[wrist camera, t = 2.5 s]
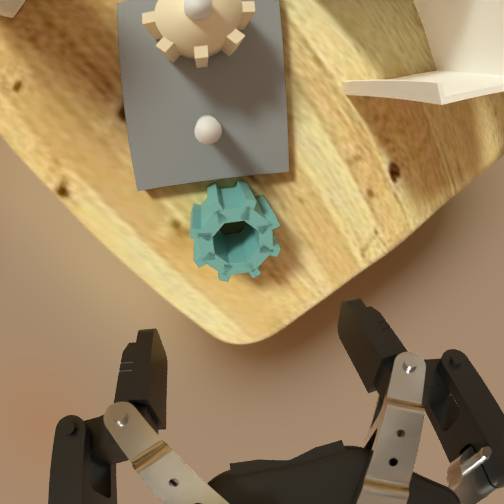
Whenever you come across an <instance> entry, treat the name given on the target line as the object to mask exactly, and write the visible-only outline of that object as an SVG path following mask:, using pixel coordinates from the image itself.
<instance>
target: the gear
mask: <svg viewBox="0 0 504 504" xmlns="http://www.w3.org/2000/svg"><path fill="white" fill-rule="evenodd" d="M207 192H208V198H207V199H206V200H205V201H204V202H203V204H202V205H197V204H193V208H192V212H191V223H190V238H194V261H195V263H196V264H197V266H198V267H199V268H200V267H202V266H204V265H205V264H208V265H209V266H211V267H212V268H214V269H216V270H217V271H218V277H219V280H222V281H227V282H229V279H230V276H231V275H233V274H241V273H248V272H249V274H250V276H251V277H252V278H254V277H256V276H258V275H260V274H261V272H260V269H259V266H260V265H261V264H262V263H263V262H264V260H265V259H266V258H267V257H268V256H269V255H270V256H275V257H278V254H279V252H280V250H281V247H280V245H279V243H278V241H277V239H276V237H275V235H274V233H273V231H272V230H273V229H275V228H277V227H279V226H280V224H279V222H278V220H277V218H276V216H275V214H274V212H273V211H272V209H271V207H270V206H269V204H268V203H267V201H266V199H265V198H264V196H263V195H262V196H260V197H258V198H255V197H254V195H253V193H252V192H251V190H250V188H249V186H248V184H247V182H245V181H241V180H237V183H236V186H235V187H230V188H221V189H219V188H218V186H217V184H216V182H215V183H213V184H211V185H209V186H208V187H207ZM238 221H245V222H247V223H248V224H247V225H246V226H245V227H244V229H243V230H242V231H241V232H240V233H235V234H227V235H224V234H222V233H221V232H220V231H218V230H219V229H220V228H221V227H222V226H223V224H224V223H230V222H238Z"/></svg>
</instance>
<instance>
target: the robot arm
mask: <svg viewBox="0 0 504 504" xmlns="http://www.w3.org/2000/svg"><path fill="white" fill-rule="evenodd" d="M338 334H339V338H340V340H341V342H342V343H343V345H344V347H345V349H346V351H347V353H348V355H349V357H350V359H351V361H352V362H353V364H354V366H355V368H356V370H357V372H358V374H359V376H360V378H361V380H362V382H363V384H364V386H365V388H366V390H367V391H368V393H370V392H373V391H376V390H377V392H378V393H379V396H378V399H377V402H376V406H375V410H374V413H373V416H372V420H371V423H370V426H369V429H368V432H367V435H366V437H365V439H364V441H363V444H362V446H361V447H357V446H344V445H343V442H342V440H340V441H337V442H333V443H330V444H326V445H323V446H319V447H316V448H313V449H312V450H310V451H308V452H306V453H304V454H302V455H300V456H298V457H295V458H293V459H291V460H286V461H285V460H284V461H282V460H280V461H279V460H253V461H246V462H239V463H231V464H230V469H231V470H228V471H225V472H223V473H221V474H219V475H218V476H216V477H214V478H213V479H212V480H211V481H209V482H208V483H206V482H204V481H203V480H202V479H201V478H200V477H199V476H198V475H197V474H196V473H195V472H194V471H193V470H192V469H191V468H190V467H189V466H188V465H187V464H186V463H185V462H184V461H183V460H182V459H181V458H180V457H179V456H178V455H177V454H176V453H175V452H174V451H173V450H172V449H171V448H170V447H169V446H168V445H167V444H166V443H165V442H164V441H163V440H162V439H161V438H160V437H159V435H158V430H159V429H166V396H167V357H166V353H165V350H164V347H163V345H162V342H161V339H160V336H159V334H158V331H157V329H145V330H139V331H138V335H137V340H136V343H129V344H128V345H127V347H126V348H125V350H124V351H123V354H122V359H121V364H120V372H119V376H118V381H117V387H116V394H115V400H114V404H112V405H111V406H109V407H108V408H107V410H106V411H105V413H104V415H102V416H100V417H97V418H93V419H90V420H86V421H83V420H82V419H81V418H80V417H78V416H75V415H69V416H66V417H64V418H62V419H61V420H60V421H59V423H58V424H57V426H56V431H55V437H54V444H53V451H52V460H51V469H50V482H49V501H48V504H117V488H116V463H120V462H123V461H127V460H130V461H131V463H132V464H133V468H134V469H135V471H136V472H137V473H138V475H139V476H140V477H141V478H142V480H143V481H144V482H145V483H146V484H147V486H148V487H149V488H150V489H151V490H152V492H153V493H154V494H155V495H156V496H157V497H158V498H159V499H160V501H161V502H162V503H163V504H476V503H477V502H479V501H480V500H481V499H483V498H485V497H487V496H489V495H491V494H492V493H494V492H496V491H498V490H499V489H501V488H503V487H504V414H503V412H502V411H501V409H500V407H499V405H498V404H497V402H496V400H495V399H494V397H493V396H492V394H491V393H490V391H489V389H488V388H487V386H486V385H485V383H484V382H483V380H482V379H481V377H480V375H479V374H478V372H477V371H476V369H475V368H474V367H473V365H472V364H471V362H470V361H469V359H468V358H467V357H466V355H465V354H464V353H462V352H461V351H458V350H454V349H452V350H447V351H446V352H444V354H443V355H442V357H441V359H429V360H423V359H422V357H421V356H420V355H418V354H416V353H413V352H408V351H407V350H406V349H405V347H404V346H403V344H402V343H401V342H400V340H399V339H398V337H397V336H396V334H395V333H394V331H393V330H392V329H391V328H390V326H389V325H388V323H387V322H386V321H385V319H384V318H383V316H382V315H381V313H380V312H378V311H377V310H376V309H374V308H373V307H371V306H370V307H366V306H365V304H364V303H363V302H362V300H361V299H360V298H353V299H349V300H344V301H342V303H341V309H340V315H339V321H338ZM451 394H452V395H451ZM452 396H453V397H452ZM455 401H456V402H455ZM456 403H457V404H456ZM425 411H426V413H427V415H428V417H429V419H430V421H431V423H432V425H433V427H434V429H435V431H436V434H437V436H438V438H439V440H440V442H441V444H442V446H443V449H444V451H445V453H446V455H447V457H448V460H449V462H450V465H449V467H448V471H447V482H448V483H449V485H448V487H446V486H444V485H441V484H439V483H437V482H434V481H432V480H430V479H428V478H425V477H423V476H421V475H419V474H417V473H415V472H413V468H414V464H415V460H416V456H417V451H418V447H419V442H420V437H421V432H422V426H423V420H424V414H425Z"/></svg>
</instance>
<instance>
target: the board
mask: <svg viewBox="0 0 504 504" xmlns="http://www.w3.org/2000/svg"><path fill="white" fill-rule="evenodd" d="M117 19H118V44H119V60H120V72H121V83H122V93H123V102H124V110H125V118H126V125H127V132H128V139H129V145H130V151H131V157H132V163H133V169H134V174H135V180H136V185H137V190H138V191H142V190H147V189H153V188H159V187H165V186H172V185H178V184H185V183H192V182H199V181H207V180H214V179H222V178H231V177H240V176H249V175H259V174H269V173H281V172H289V152H288V126H287V105H286V87H285V71H284V56H283V42H282V30H281V18H280V7H279V0H127V1H124V2H120V3H117Z"/></svg>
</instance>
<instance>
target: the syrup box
mask: <svg viewBox="0 0 504 504" xmlns="http://www.w3.org/2000/svg"><path fill="white" fill-rule="evenodd" d="M25 1H26V0H0V16H3V17H8V18H13V17H14V16H15V15H16V14H17V12H18V11H19V10H20V8H21V7H22V5H23V4H24V3H25Z"/></svg>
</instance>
